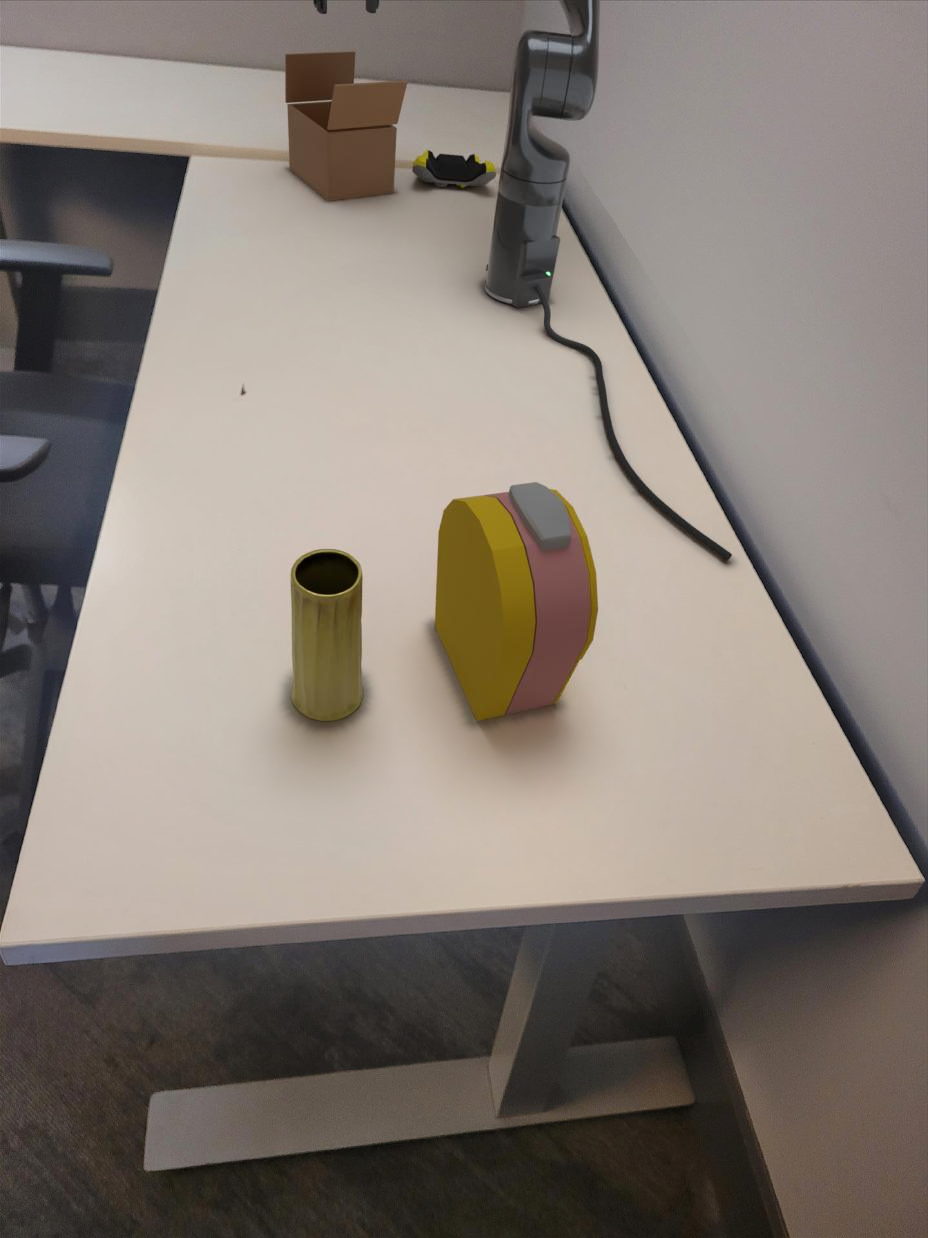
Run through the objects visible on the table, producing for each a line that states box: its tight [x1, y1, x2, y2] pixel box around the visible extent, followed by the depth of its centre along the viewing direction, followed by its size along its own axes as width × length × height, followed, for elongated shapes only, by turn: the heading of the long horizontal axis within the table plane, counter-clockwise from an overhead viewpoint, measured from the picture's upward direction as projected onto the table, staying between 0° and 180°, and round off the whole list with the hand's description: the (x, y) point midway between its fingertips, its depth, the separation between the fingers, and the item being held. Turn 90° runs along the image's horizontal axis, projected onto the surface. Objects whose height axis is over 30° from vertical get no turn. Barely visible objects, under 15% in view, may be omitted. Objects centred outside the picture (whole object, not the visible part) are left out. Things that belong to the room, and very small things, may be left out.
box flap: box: [327, 80, 408, 130], centre depth 137 cm, size 7×13×1 cm
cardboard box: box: [284, 50, 398, 202], centre depth 146 cm, size 16×13×18 cm
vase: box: [290, 548, 365, 722], centre depth 67 cm, size 6×6×14 cm
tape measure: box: [434, 481, 599, 722], centre depth 70 cm, size 15×8×18 cm, turn 20°
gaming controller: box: [411, 149, 497, 188], centre depth 155 cm, size 15×6×10 cm
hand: (346, 12), depth 132 cm, fingers open, 8 cm apart
